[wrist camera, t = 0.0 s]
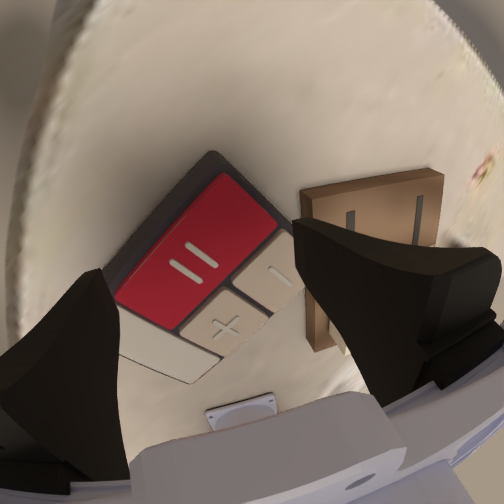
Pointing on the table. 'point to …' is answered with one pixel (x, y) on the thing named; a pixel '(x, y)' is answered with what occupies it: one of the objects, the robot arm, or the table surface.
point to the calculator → (202, 272)
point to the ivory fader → (338, 339)
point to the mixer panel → (374, 220)
